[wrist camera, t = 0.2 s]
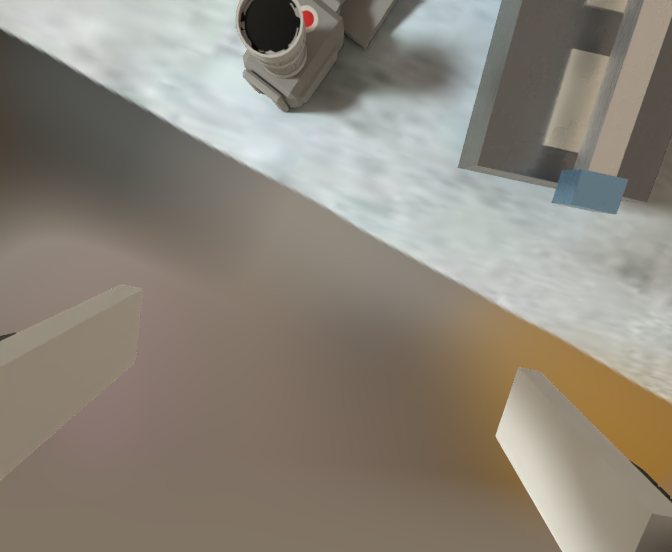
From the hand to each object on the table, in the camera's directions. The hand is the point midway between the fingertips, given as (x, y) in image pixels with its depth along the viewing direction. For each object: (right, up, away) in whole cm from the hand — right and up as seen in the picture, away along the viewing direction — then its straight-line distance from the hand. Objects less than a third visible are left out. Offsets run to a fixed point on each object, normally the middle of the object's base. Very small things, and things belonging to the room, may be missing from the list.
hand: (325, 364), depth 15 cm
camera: (-1, +25, +23) cm, 34 cm away
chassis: (+21, +22, +23) cm, 38 cm away
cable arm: (+20, +19, +15) cm, 32 cm away
